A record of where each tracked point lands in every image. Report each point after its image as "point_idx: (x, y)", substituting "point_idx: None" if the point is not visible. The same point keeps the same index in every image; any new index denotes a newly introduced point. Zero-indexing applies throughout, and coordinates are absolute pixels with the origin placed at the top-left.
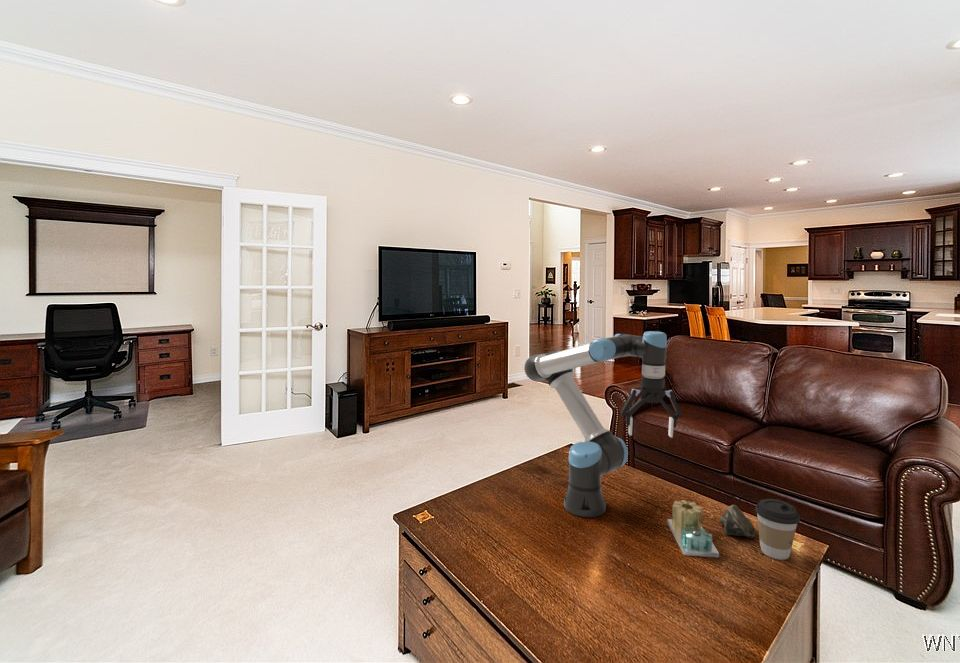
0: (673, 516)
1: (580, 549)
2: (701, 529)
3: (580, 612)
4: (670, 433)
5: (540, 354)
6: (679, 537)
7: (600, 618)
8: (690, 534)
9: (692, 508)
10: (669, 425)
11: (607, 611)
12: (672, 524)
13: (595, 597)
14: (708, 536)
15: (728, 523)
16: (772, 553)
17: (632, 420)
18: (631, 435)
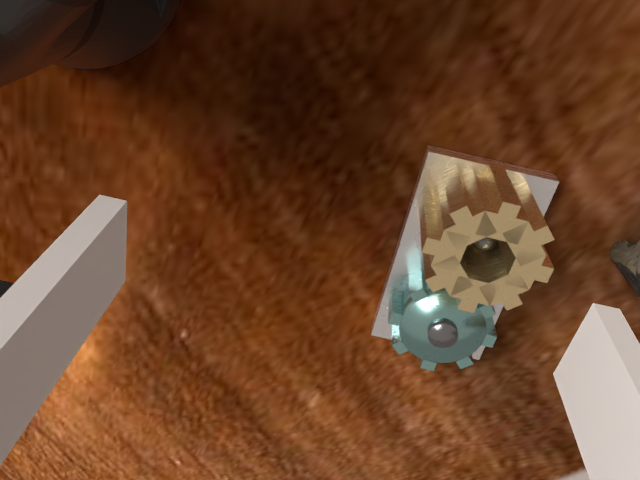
0: (420, 228)
1: None
2: (481, 310)
3: (40, 443)
4: (567, 407)
5: None
6: (399, 274)
7: (80, 460)
8: (417, 329)
9: (510, 261)
10: (627, 431)
11: (96, 449)
12: (421, 199)
13: (75, 416)
14: (475, 347)
15: (635, 281)
16: None
17: (23, 427)
18: (120, 278)
